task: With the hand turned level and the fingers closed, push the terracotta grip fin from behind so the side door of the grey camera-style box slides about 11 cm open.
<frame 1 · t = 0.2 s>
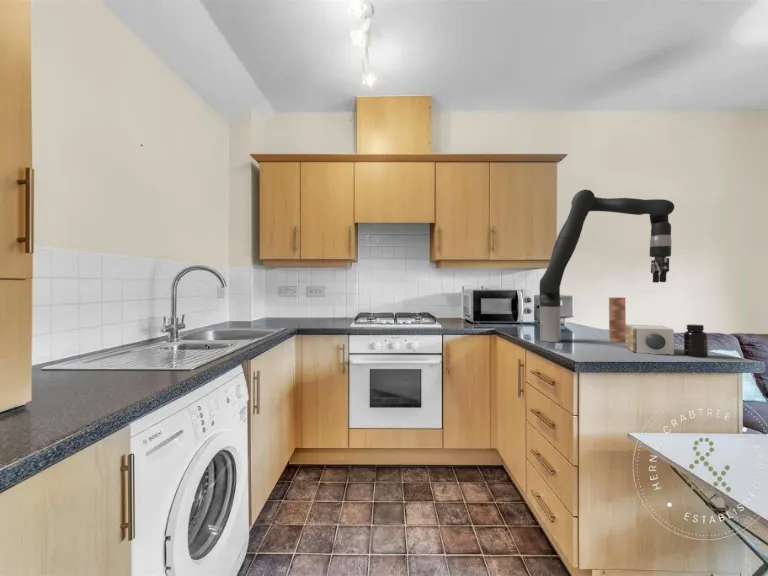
hand: (659, 282, 153), 29 cm above the worktop, tool pointing down, fingers open, 8 cm apart
supplement bottle: (695, 356, 132), on the worktop
housing: (649, 350, 143), on the worktop
door: (621, 323, 147), point 11 cm above the worktop, slide at 0.0 cm
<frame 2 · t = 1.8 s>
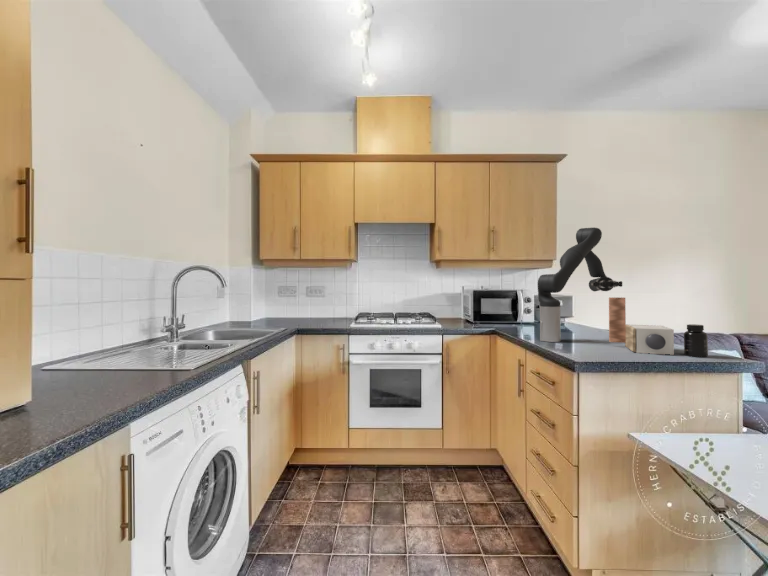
hand: (610, 284, 168), 28 cm above the worktop, tool horizontal, fingers open, 5 cm apart
nothing on the worktop moved.
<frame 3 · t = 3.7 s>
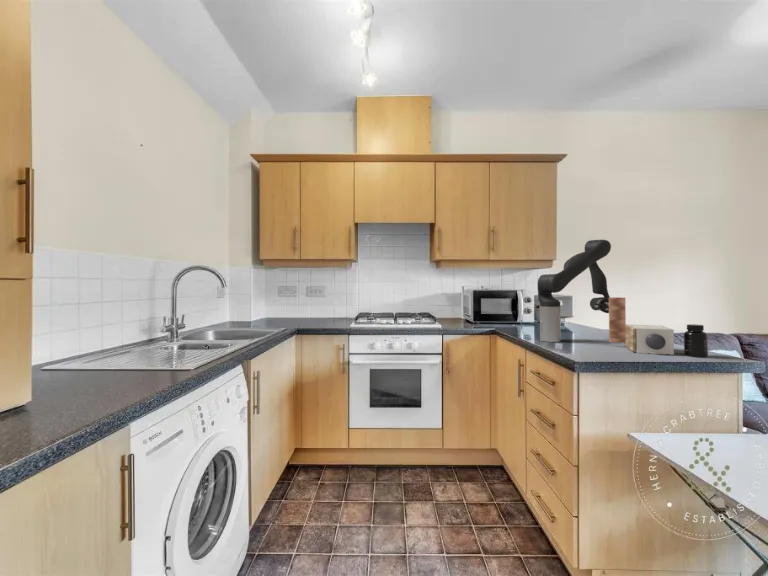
hand: (612, 307, 161), 17 cm above the worktop, tool horizontal, fingers closed
nothing on the worktop moved.
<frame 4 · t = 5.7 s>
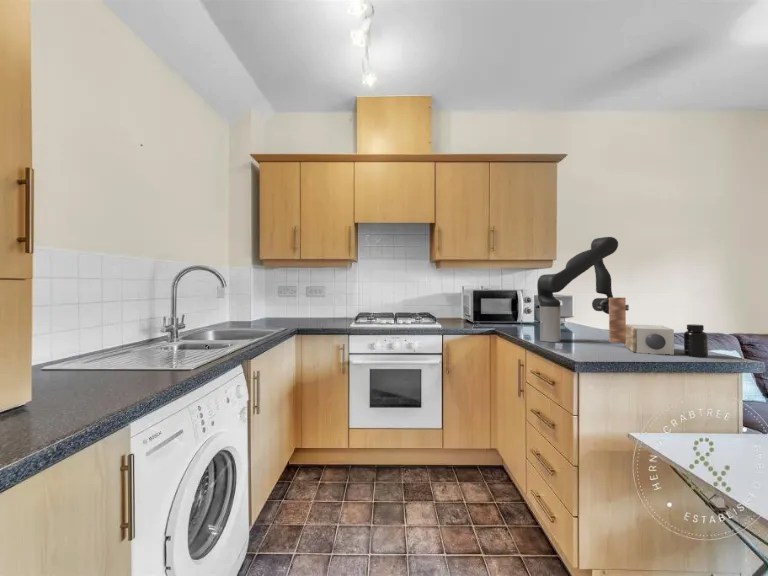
hand: (616, 308, 153), 17 cm above the worktop, tool horizontal, fingers closed
door: (621, 323, 146), point 11 cm above the worktop, slide at 0.2 cm, touching gripper
everything else where it was.
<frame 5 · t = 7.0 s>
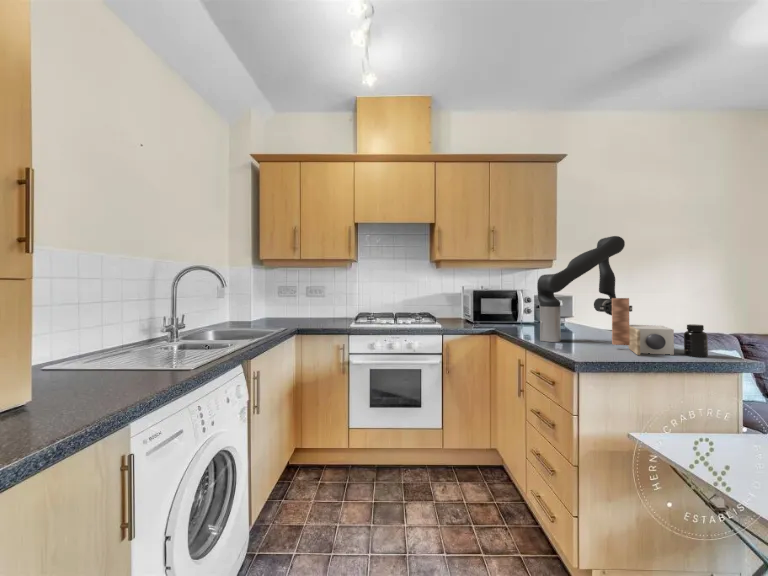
hand: (620, 309, 147), 17 cm above the worktop, tool horizontal, fingers closed
door: (625, 325, 140), point 11 cm above the worktop, slide at 6.9 cm, touching gripper
everything else where it was.
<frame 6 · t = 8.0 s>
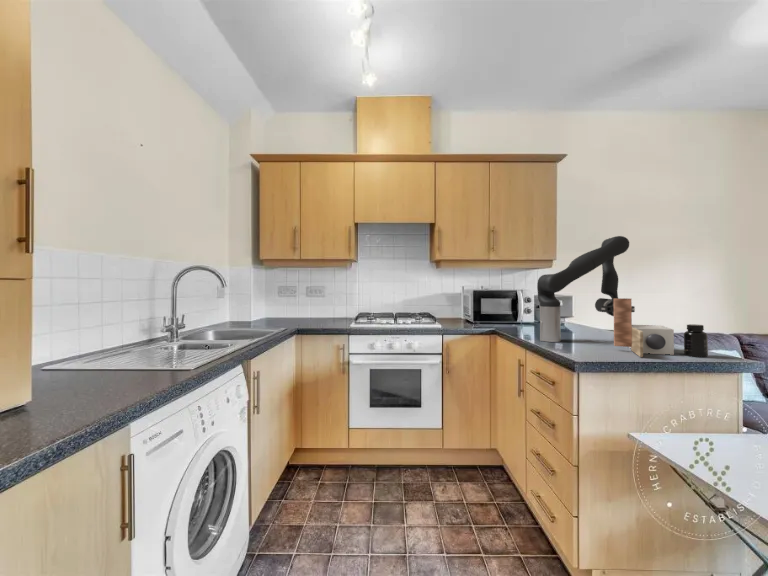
hand: (622, 310, 143), 17 cm above the worktop, tool horizontal, fingers closed
door: (627, 326, 137), point 11 cm above the worktop, slide at 10.9 cm, touching gripper
everything else where it was.
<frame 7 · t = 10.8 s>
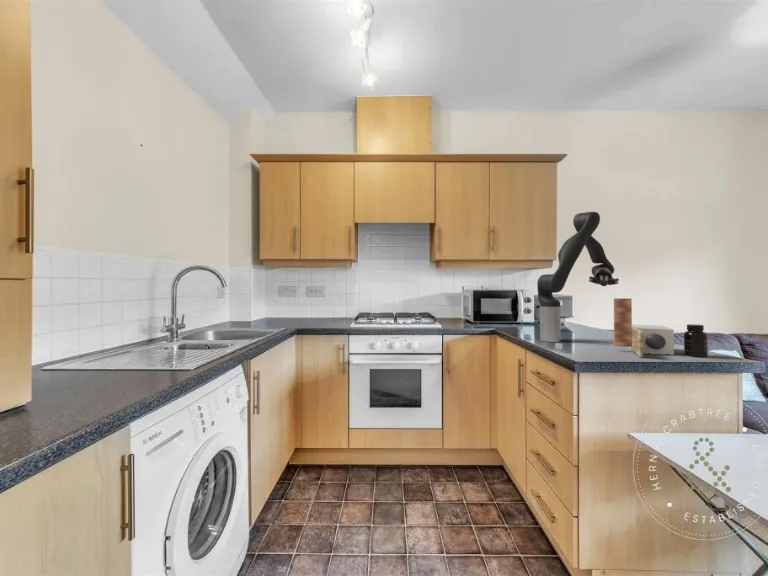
hand: (603, 284, 163), 28 cm above the worktop, tool horizontal, fingers closed
door: (627, 326, 137), point 11 cm above the worktop, slide at 11.0 cm
everything else where it was.
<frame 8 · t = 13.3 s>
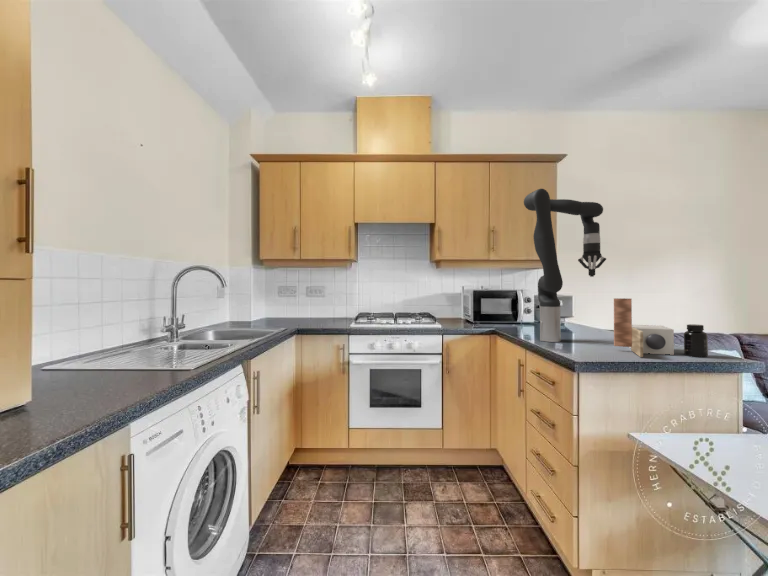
hand: (591, 276, 176), 32 cm above the worktop, tool pointing down, fingers closed
nothing on the worktop moved.
at the end: door slide at 11.0 cm; supplement bottle moved 0.2 cm from its start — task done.
